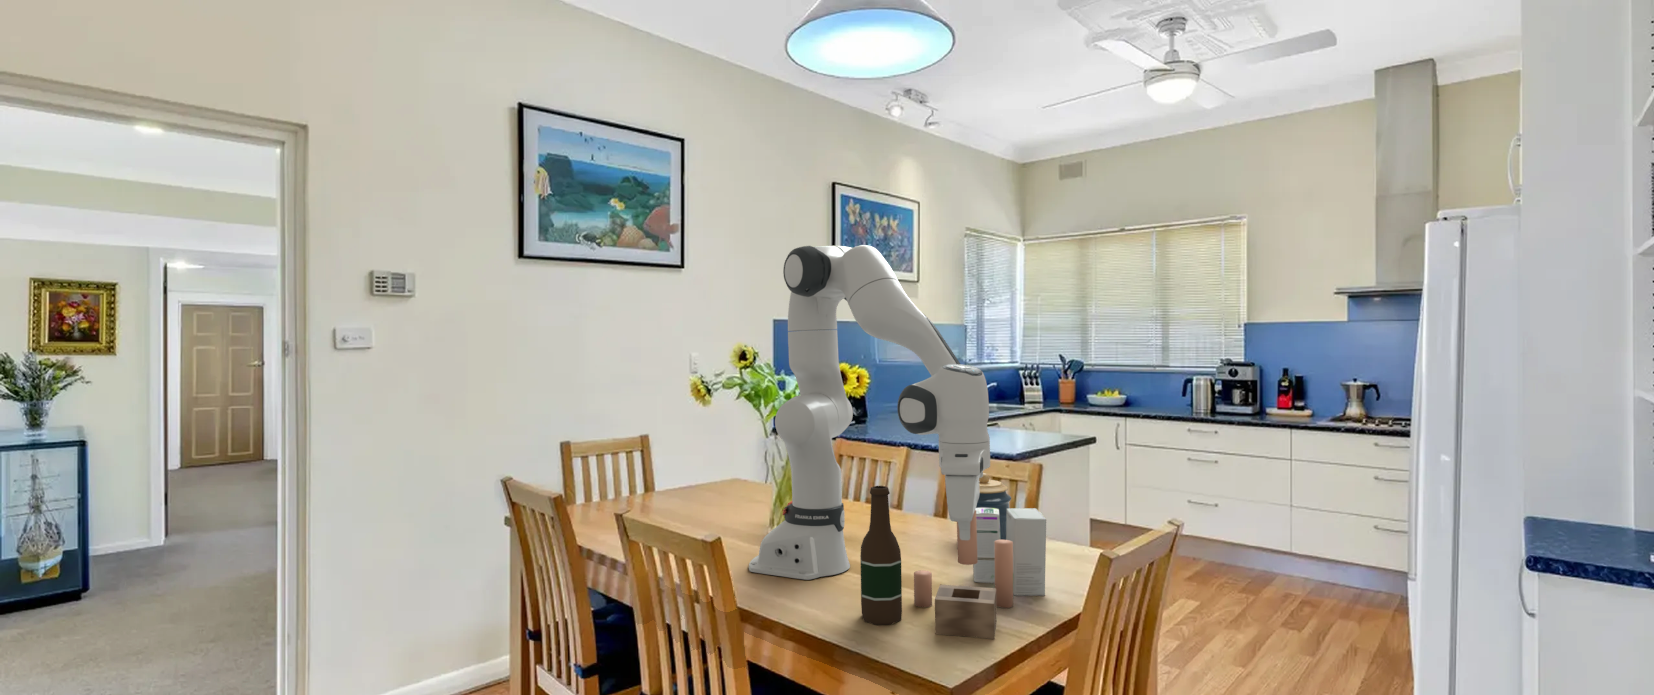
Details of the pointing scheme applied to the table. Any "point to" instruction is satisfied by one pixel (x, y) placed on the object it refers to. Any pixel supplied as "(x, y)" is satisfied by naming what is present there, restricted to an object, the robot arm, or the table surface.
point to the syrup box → (986, 544)
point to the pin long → (1004, 573)
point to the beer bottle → (880, 565)
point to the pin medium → (968, 545)
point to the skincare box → (1027, 550)
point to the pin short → (922, 588)
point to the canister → (994, 499)
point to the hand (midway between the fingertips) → (966, 535)
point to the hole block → (965, 611)
